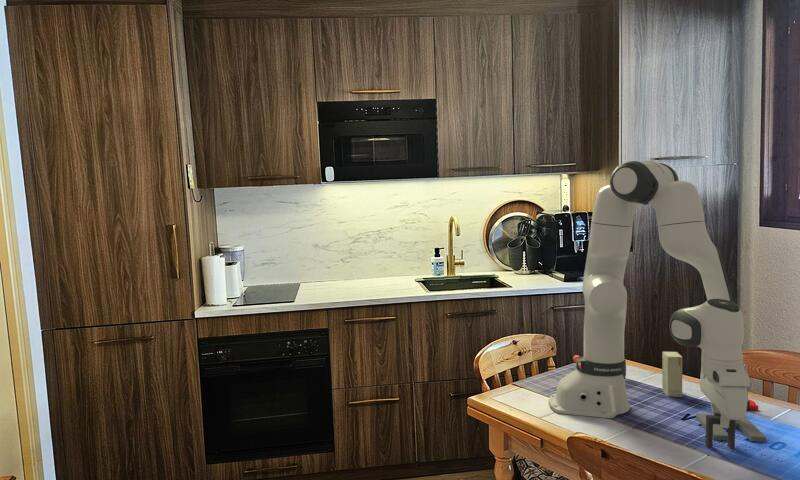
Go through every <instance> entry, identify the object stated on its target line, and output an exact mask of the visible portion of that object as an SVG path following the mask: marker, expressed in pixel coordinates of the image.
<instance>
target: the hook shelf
mask: <svg viewBox="0 0 800 480" xmlns="http://www.w3.org/2000/svg"><path fill="white" fill-rule="evenodd" d="M706 415H712V413H695V419H696V420H697V421H698V423H699V424H700V425H701V426H702V427H703V428H704V430H706ZM735 429H738V430H739V431H740V432H741V433H742V434H743V435H744V436H745V437H746V436H747V437H748V438H747V437H746V438H747V439H749V441H751V442H764V441H766V442H767V436H766V435H765V434H764V433H763V432H762V430H760V429H759V428H758V427H756V426H755V424H753V422H751V421H750V419H748V418H747V417H746V416H745V418H744V419H743V420H735ZM713 440H715V441H728V432H727V431H726V430H725V428H722V427H721V426H720V425H719V424H713Z"/></svg>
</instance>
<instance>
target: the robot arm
mask: <svg viewBox="0 0 800 480" xmlns="http://www.w3.org/2000/svg"><path fill="white" fill-rule="evenodd" d="M609 178H610V180H609V184H607V185H604V186H602V187H601V188H600V189H599V190H598V192H597V196H596V199H595V202H594V206H593V210H592V215H591V222H590V231H589V239H588V247H587V254H586V260H585V267H584V273H583V279H582V287H581V289H582V293H583V298H584V316H583V317H584V319H583V355H582V356H581V357H580V355H579V354H578V355H577V354H575V355H574V356H573V358H572V359H573V362H574V363H575V364H576V365H575V366H576V367H575V369H574V370H573V371H572V372H570V373H568V374H567V375H565V376H563V378H561V379H560V380H559V381H558V383H557V388H556V392H555V393H552V394H550V396H548V406H549V408H550V409H551V410H552V411H553V412H555V413H558V414H563V415H574V416H583V417H595V418H603V419H613V418H615V417H616V416H618V415H622V414H626V413H627V412H629V411H630V410H631V406H630V403H629V400H628V395H627V389H626V381H625V380H626V376H627V363H626V359H625V329H626V319H627V308H628V307H627V304H628V291H627V288H626V287H625V285H624V278H625V272H626V268H627V264H628V259H629V256H630V252H631V244H632V236H633V235H632V233H633V225H634V218H635V217H634V216H635V213H636V209H637V208H638V207H639V206H640V205H643V206H644V205H645V206H646V205H651V207H652V208H653V209H654V210H655V215H656V222H657V231H658V239H659V243H660V245H661V248H662V249H663V250H664V252H665V253H667V254H668V255H669V256H671V257H673V258H674V259H675V260H679V261H681V262H683V263H684V262H685V263H687V264H688V265H691V266H692V267H694V268H695V269H696V270H697V271H698V273H699V274H700V277H701V280H702V284H703V288H704V291H705V295H706V299H707V300H706V301H704V303H702V304H701V303H700V304H699V305H696V306H691V307H690V306H689V307H686V308H685V307H684V308H680V309H677V310H676V311H674V312H673V313H672V315H671V316H670V319H669V324H668V325H669V328H668V329H669V333H670V335H671V337H672V338H673V340H674V341H675V342H676V343H678V344H679V345H681V346H684V347H692V348H693V347H696V348H697V347H698V348H700V349H701V359H700V361H701V365H700V366H701V367H700V376H699V377H700V379H699V388H700V391H701V392H702V394H704V396H705V397H706V398H707V399H708V400H709V401H710V407H711V408H710V409H711V411H712V413H711V414H712V415H716V416H721V418H720V419H719V425H720V426H721V427H722V428H723V429H728V428H729V421H730V420H743V419H744V418H745V417H746V416H747V411H748V410H747V398H748V399H749V392H748V387H750V385H751V378H750V376H749V375H748V372H747V373H746V371H745V368H744V354H743V349H742V348H743V343H744V338H745V324H744V316H743V315H744V314H743V312H742V309H741V307H740V305H739V304H737V303H736V302H735V300H734V296H733V294H732V289H731V285H730V283H729V278H728V274H727V271H726V268H725V264H724V261H723V258H722V255H721V252H720V251H719V248H718V247H717V245H715V244H714V243H713V241H712V240H711V237H710V234H709V233H708V231H707V226H706V221H705V213H704V208H703V204H702V201H701V198H700V195H699V192H698V189H697V187H696V186H695V185H694V184H693V183H691V182H689V181H685V180H679V176H678V174H677V172H676V171H675V170H674V169H673V168H672V166H669V165H668V164H665V163H664V162H663V163H662V162H655V161H650V160H643V161H637V160H630V161H626V162H623V163H620V164H619V165H618V166H617V167H615V168H614V169H613V171H612V173H611V175H610V177H609ZM746 386H747V388H746ZM747 392H748V393H747Z"/></svg>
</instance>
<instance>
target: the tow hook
mask: <svg viewBox="0 0 800 480" xmlns="http://www.w3.org/2000/svg"><path fill="white" fill-rule="evenodd" d="M743 365H744V368H745V371H746V373H747V374H748V370H747V368H748V366H747V364H745V363H743ZM746 388H747V389H748V386H746ZM747 393H748V394H749V392H748V391H747ZM758 410H759V405H757V404H756V402H755V401H754V400H752V399H750V398H749V397H748V398H747V411H758Z"/></svg>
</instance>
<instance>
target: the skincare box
mask: <svg viewBox="0 0 800 480" xmlns="http://www.w3.org/2000/svg"><path fill="white" fill-rule="evenodd" d="M661 355H662V358H661V359H662V360H661V361H662V362H661V363H662V370H661V371H662V377H661V378H662V383H661V384H662V387H661V389H662V392H663V393H664V394H665V395H666V396H667V397H681V398H682V397H683V356H682V355H681V354H680V353H679V352H678V351H662V354H661Z"/></svg>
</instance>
